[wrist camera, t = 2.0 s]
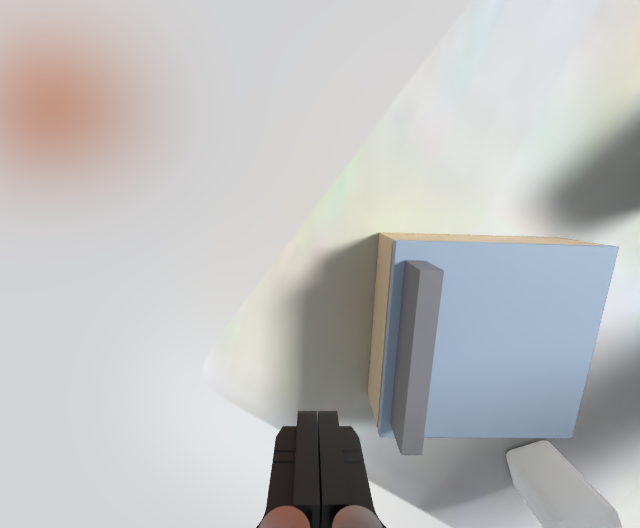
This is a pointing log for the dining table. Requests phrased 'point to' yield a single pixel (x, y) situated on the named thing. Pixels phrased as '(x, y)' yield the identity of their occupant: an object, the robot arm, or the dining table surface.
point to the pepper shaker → (558, 489)
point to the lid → (489, 338)
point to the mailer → (384, 287)
